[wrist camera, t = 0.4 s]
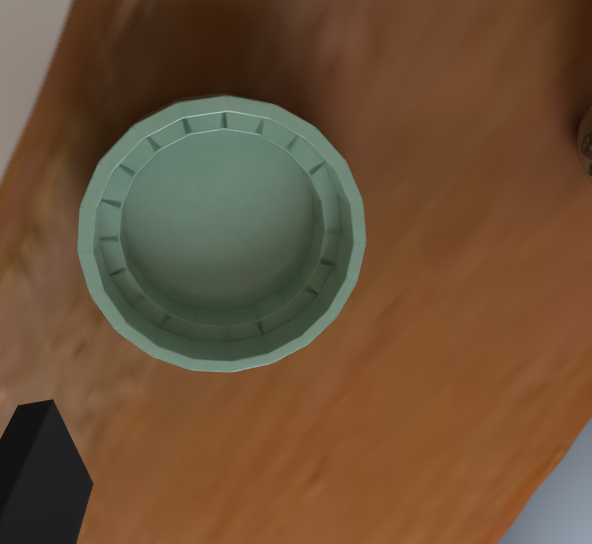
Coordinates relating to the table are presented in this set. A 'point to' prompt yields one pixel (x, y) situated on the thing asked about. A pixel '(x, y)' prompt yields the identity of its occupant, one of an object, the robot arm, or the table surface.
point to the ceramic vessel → (585, 143)
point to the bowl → (221, 233)
